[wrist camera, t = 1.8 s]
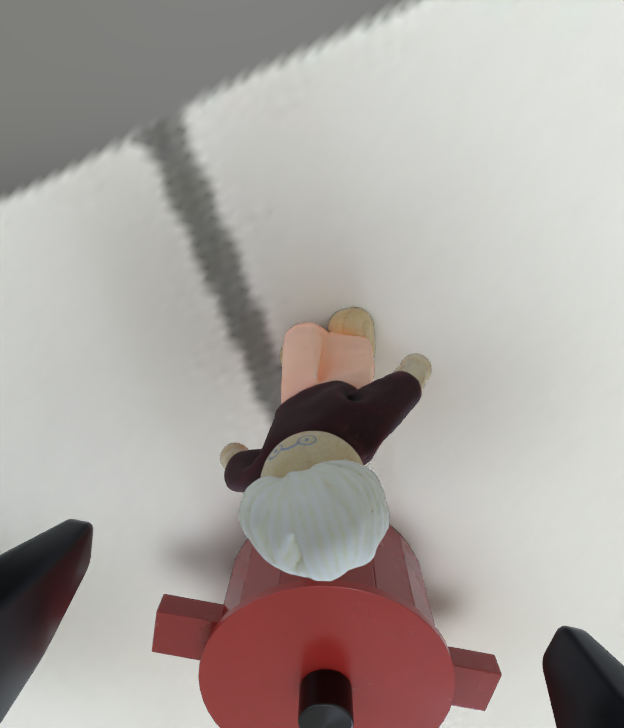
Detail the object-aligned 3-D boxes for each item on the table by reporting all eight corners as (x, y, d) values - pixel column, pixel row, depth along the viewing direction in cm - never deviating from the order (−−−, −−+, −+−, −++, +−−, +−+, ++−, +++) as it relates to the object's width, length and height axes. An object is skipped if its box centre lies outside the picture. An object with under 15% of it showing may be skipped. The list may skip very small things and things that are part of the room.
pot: (438, 675, 27) (464, 782, 22) (174, 627, 27) (138, 726, 22) (495, 535, 24) (539, 623, 19) (195, 477, 23) (158, 552, 18)
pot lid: (411, 765, 23) (421, 831, 20) (190, 727, 22) (174, 789, 20) (483, 593, 19) (505, 649, 17) (222, 544, 19) (207, 593, 16)
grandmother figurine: (360, 266, 20) (410, 365, 8) (414, 334, 21) (535, 518, 9) (227, 375, 22) (100, 593, 10) (282, 434, 22) (230, 701, 10)
